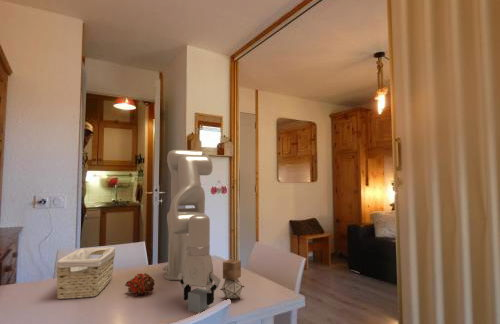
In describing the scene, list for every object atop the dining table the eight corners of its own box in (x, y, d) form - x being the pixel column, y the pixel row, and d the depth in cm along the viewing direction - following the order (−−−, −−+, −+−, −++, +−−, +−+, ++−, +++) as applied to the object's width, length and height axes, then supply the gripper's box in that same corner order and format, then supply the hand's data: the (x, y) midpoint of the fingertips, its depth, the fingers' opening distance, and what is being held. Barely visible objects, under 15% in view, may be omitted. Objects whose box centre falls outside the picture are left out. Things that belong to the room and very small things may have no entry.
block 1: (187, 310, 100) (188, 292, 101) (196, 305, 105) (196, 287, 105) (199, 313, 98) (199, 294, 98) (208, 307, 102) (208, 290, 103)
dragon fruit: (155, 299, 113) (127, 302, 115) (161, 280, 120) (135, 283, 122) (146, 286, 109) (117, 289, 111) (154, 267, 116) (126, 270, 118)
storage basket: (77, 280, 131) (78, 247, 132) (115, 278, 134) (116, 246, 136) (52, 302, 108) (54, 261, 109) (99, 298, 111) (100, 259, 112)
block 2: (222, 278, 110) (222, 262, 110) (229, 274, 114) (229, 259, 114) (234, 280, 107) (234, 263, 108) (240, 276, 112) (240, 260, 112)
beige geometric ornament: (235, 310, 108) (240, 294, 103) (215, 300, 110) (218, 284, 105) (244, 291, 116) (249, 275, 111) (225, 282, 118) (228, 266, 112)
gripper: (172, 250, 103) (171, 301, 102) (213, 255, 95) (213, 309, 94) (186, 246, 110) (185, 294, 108) (225, 251, 102) (225, 301, 101)
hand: (198, 301), depth 101 cm, fingers open, 9 cm apart
